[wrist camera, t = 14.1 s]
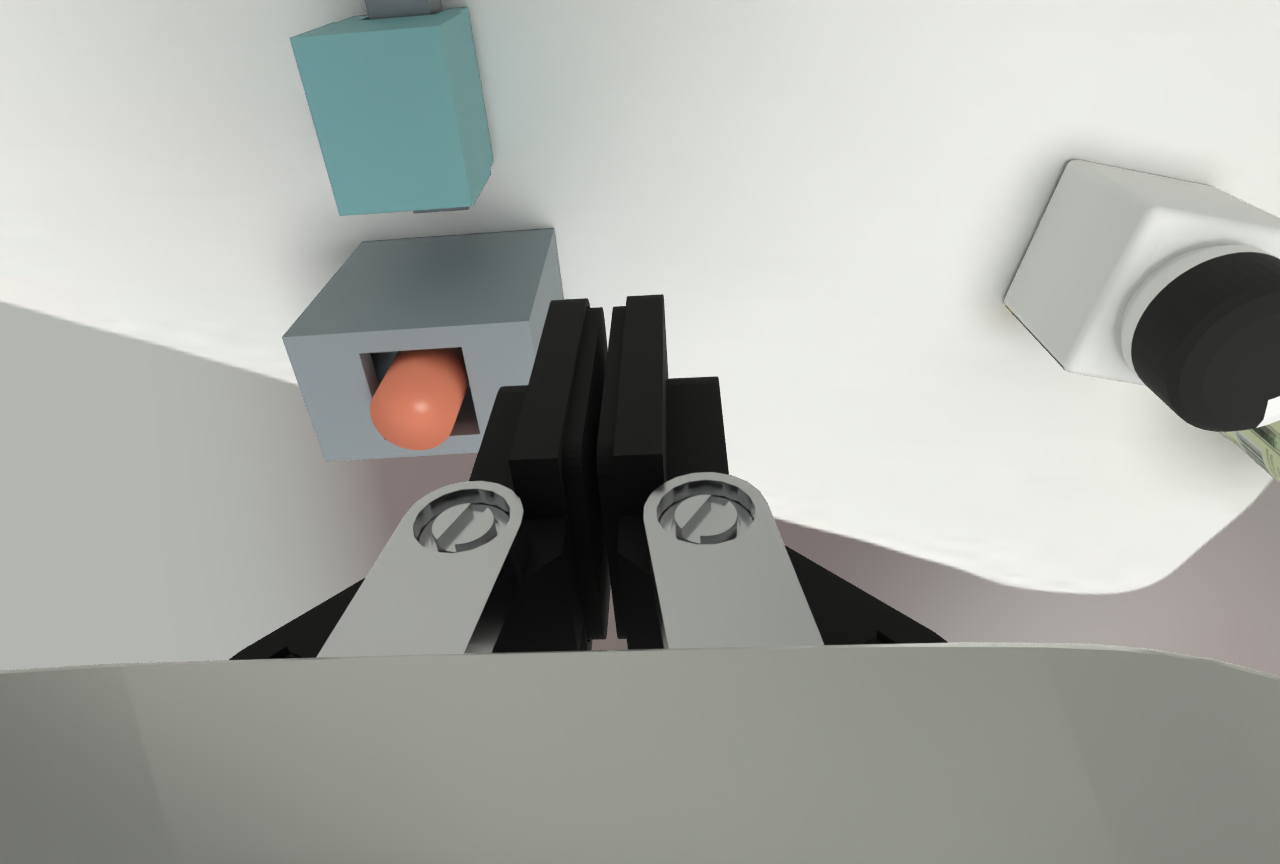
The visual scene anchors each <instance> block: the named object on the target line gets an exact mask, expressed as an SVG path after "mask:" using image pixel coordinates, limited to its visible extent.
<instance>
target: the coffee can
mask: <svg viewBox="0 0 1280 864" xmlns="http://www.w3.org/2000/svg"><path fill="white" fill-rule="evenodd" d="M1220 433H1221V434H1223V435H1224V436H1225V437H1227V438H1228V439H1230V440H1232V441H1233V442H1234V443H1235V444H1236V445H1238V446H1239V447H1240V448H1241V449H1242V450H1243V451H1244V452H1246V453H1247V454H1248V455H1249V456H1250V457H1251V458H1252V459H1253V460H1254V461H1255V462H1256V463H1258V464H1259V465H1260V466H1261V467H1262V468H1263V469H1265V470H1266V471H1267V472H1268V473H1269V474H1270V475H1271V476H1272V477H1273V478H1275V479H1276V480H1277V481H1278V482H1279V483H1280V420H1279V421H1276V422H1274V423H1271V424H1268V425H1265V426H1262V427H1258V428H1254V429H1248V430H1242V431H1231V432H1220Z"/></svg>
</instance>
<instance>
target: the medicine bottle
mask: <svg viewBox="0 0 1280 864" xmlns="http://www.w3.org/2000/svg"><path fill="white" fill-rule="evenodd" d="M1004 304H1005V306H1006V307H1007V308H1008V309H1009V310H1010V312H1011V313H1012V314H1013V315H1014V316H1015V317H1016V318H1017V319H1018V320H1019V321H1020V322H1021V323H1022V324H1023V326H1024V327H1025V328H1026V329H1027V330H1028V331H1029V332H1030V333H1031V334H1032V335H1033V336H1034V337H1035V338H1036V340H1037V341H1038V342H1039V343H1040V344H1041V345H1042V346H1043V347H1044V348H1045V349H1046V350H1047V351H1048V352H1049V354H1050V355H1051V356H1052V357H1053V358H1054V359H1055V360H1056V361H1057V362H1058V363H1059V364H1060V365H1061V366H1062V368H1063V369H1064V370H1066V371H1068V372H1070V373H1075V374H1080V375H1086V376H1092V377H1098V378H1104V379H1110V380H1116V381H1122V382H1128V383H1134V384H1139V385H1145V386H1147V387H1148V388H1149V389H1151V390H1152V391H1153V392H1154V393H1155V394H1156V395H1157V396H1158V397H1159V398H1160V399H1161V400H1162V401H1163V402H1164V403H1166V404H1167V405H1168V406H1169V407H1170V408H1171V409H1172V410H1173V411H1174V412H1175V413H1176V414H1177V415H1178V416H1179V417H1181V418H1182V419H1183V420H1184V421H1186V422H1187V423H1189V424H1191V425H1193V426H1195V427H1198V428H1201V429H1204V430H1209V431H1216V432H1231V431H1242V430H1248V429H1254V428H1258V427H1262V426H1265V425H1268V424H1271V423H1274V422H1276V421H1279V420H1280V218H1278V217H1276V216H1274V215H1272V214H1269V213H1267V212H1265V211H1263V210H1261V209H1259V208H1257V207H1255V206H1253V205H1251V204H1249V203H1247V202H1244V201H1242V200H1240V199H1238V198H1236V197H1234V196H1232V195H1230V194H1228V193H1226V192H1224V191H1221V190H1219V189H1217V188H1215V187H1213V186H1209V185H1204V184H1199V183H1194V182H1188V181H1183V180H1178V179H1173V178H1168V177H1163V176H1158V175H1153V174H1148V173H1143V172H1138V171H1133V170H1128V169H1123V168H1118V167H1113V166H1108V165H1103V164H1098V163H1093V162H1087V161H1082V160H1072V161H1070V162H1069V163H1068V164H1067V165H1066V167H1065V170H1064V172H1063V174H1062V176H1061V178H1060V180H1059V182H1058V185H1057V187H1056V189H1055V191H1054V193H1053V195H1052V198H1051V200H1050V202H1049V204H1048V206H1047V208H1046V210H1045V213H1044V215H1043V217H1042V219H1041V221H1040V223H1039V226H1038V228H1037V230H1036V232H1035V234H1034V236H1033V239H1032V241H1031V243H1030V245H1029V247H1028V249H1027V251H1026V254H1025V256H1024V258H1023V260H1022V262H1021V264H1020V267H1019V269H1018V271H1017V273H1016V275H1015V277H1014V279H1013V282H1012V284H1011V286H1010V288H1009V290H1008V292H1007V295H1006V297H1005V299H1004Z"/></svg>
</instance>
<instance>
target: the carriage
mask: <svg viewBox="0 0 1280 864" xmlns="http://www.w3.org/2000/svg"><path fill="white" fill-rule="evenodd" d="M290 40H291V44H292V48H293V51H294V55H295V58H296V62H297V65H298V69H299V72H300V76H301V80H302V83H303V87H304V90H305V94H306V97H307V101H308V105H309V108H310V112H311V115H312V119H313V122H314V126H315V130H316V133H317V137H318V140H319V144H320V147H321V151H322V154H323V158H324V162H325V165H326V169H327V172H328V176H329V179H330V183H331V187H332V190H333V194H334V197H335V201H336V204H337V208H338V212H339V215H340V216H345V215H359V214H373V213H387V212H401V211H415V210H429V209H443V208H456V207H470V206H473V205H474V203H475V201H476V199H477V198H478V196H479V194H480V192H481V191H482V189H483V187H484V185H485V184H486V182H487V180H488V178H489V177H490V175H491V170H490V167H491V165H492V164H493V162H494V160H493V154H492V148H491V142H490V136H489V130H488V124H487V118H486V112H485V106H484V100H483V94H482V88H481V82H480V76H479V70H478V65H477V59H476V53H475V47H474V41H473V35H472V29H471V23H470V17H469V11H468V7H463V8H451V9H446V10H444V11H442V12H440V13H438V14H432V15H420V16H408V17H396V18H383V19H371V20H369V16H368V15H365V16H354V17H351V18H348V19H345V20H343V21H340V22H334V23H330V24H327V25H325V26H322V27H319V28H316V29H314V30H311V31H308V32H305V33H302V34H300V35H297V36H294V37H291V38H290Z"/></svg>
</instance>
